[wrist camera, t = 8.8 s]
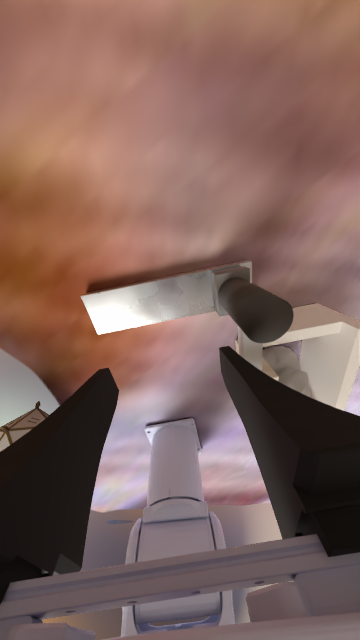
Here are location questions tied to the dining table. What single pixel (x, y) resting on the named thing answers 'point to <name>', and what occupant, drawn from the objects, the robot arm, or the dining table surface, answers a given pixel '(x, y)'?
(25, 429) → the game die
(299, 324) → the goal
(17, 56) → the dining table surface
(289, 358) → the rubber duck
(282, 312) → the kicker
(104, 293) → the rail
